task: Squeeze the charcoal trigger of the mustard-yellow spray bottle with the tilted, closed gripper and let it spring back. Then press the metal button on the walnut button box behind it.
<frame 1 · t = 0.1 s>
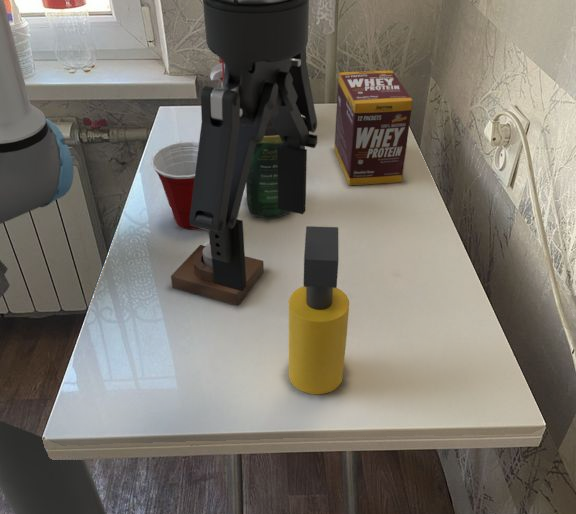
hand: (263, 244, 58), 24 cm above the table, tool pointing down, fingers open, 13 cm apart
coffee jar: (269, 206, 111), on the table
supplement box: (366, 166, 122), on the table
spray bottle: (315, 374, 80), on the table
citrus juicer: (255, 132, 133), on the table
muffin: (239, 171, 120), on the table
plastic cup: (192, 222, 107), on the table
button box: (218, 279, 94), on the table
button: (216, 255, 91), point 4 cm above the table, slide at 0.1 cm
trigger: (320, 268, 73), point 14 cm above the table, slide at -0.1 cm
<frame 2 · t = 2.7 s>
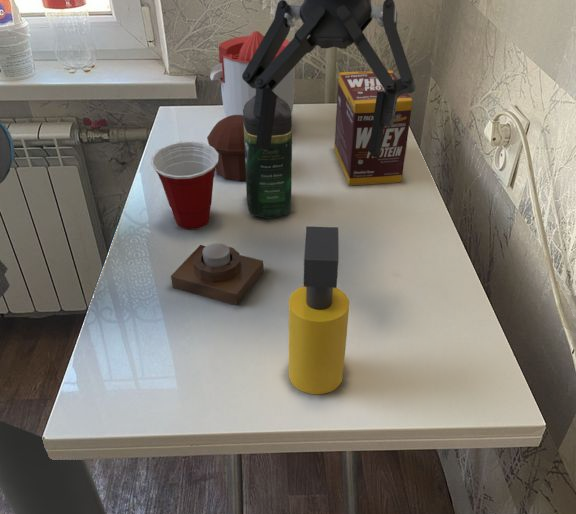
hand: (316, 151, 72), 24 cm above the table, tool tilted 40°, fingers open, 13 cm apart
nothing on the table moved.
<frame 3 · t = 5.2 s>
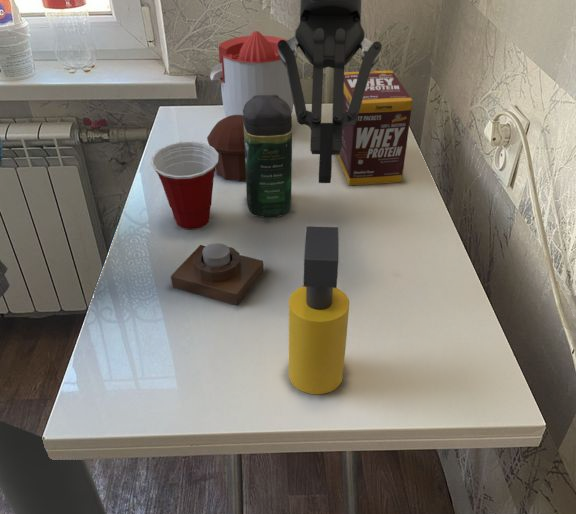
hand: (324, 179, 76), 20 cm above the table, tool tilted 45°, fingers closed
nothing on the table moved.
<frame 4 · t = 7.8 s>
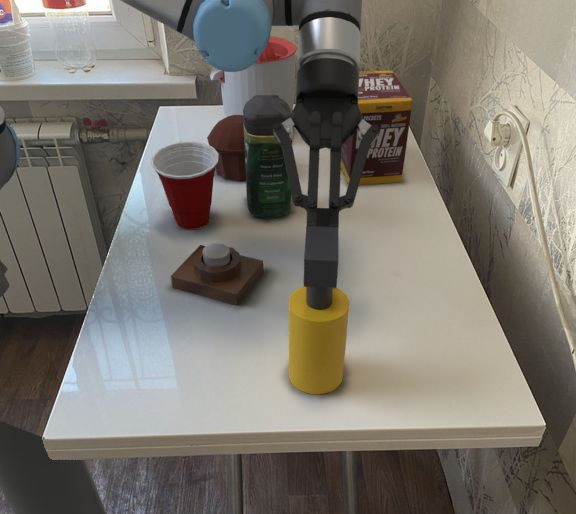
hand: (321, 264, 74), 14 cm above the table, tool tilted 45°, fingers closed
trigger: (320, 271, 72), point 14 cm above the table, slide at 0.5 cm, touching gripper
everything else where it was.
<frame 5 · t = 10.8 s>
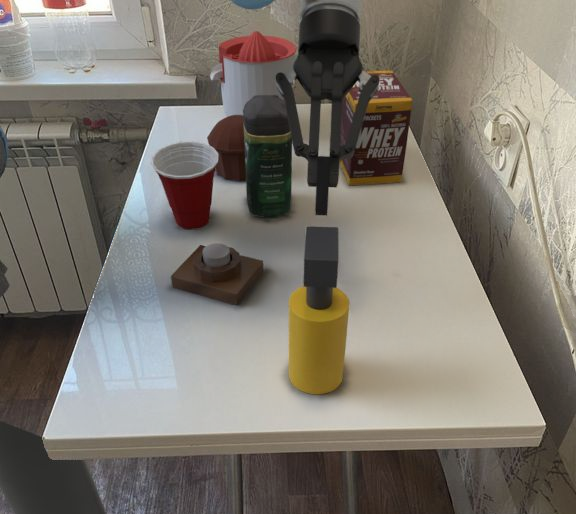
hand: (321, 212, 75), 17 cm above the table, tool tilted 45°, fingers closed
trigger: (320, 268, 73), point 14 cm above the table, slide at -0.1 cm
everything else where it was.
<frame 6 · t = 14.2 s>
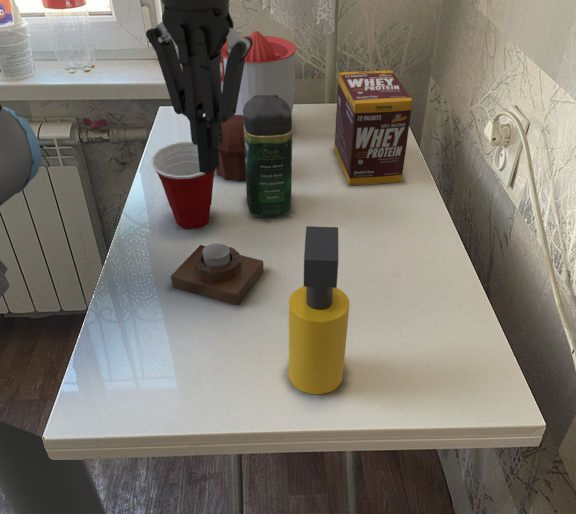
hand: (209, 168, 82), 18 cm above the table, tool pointing down, fingers closed
nothing on the table moved.
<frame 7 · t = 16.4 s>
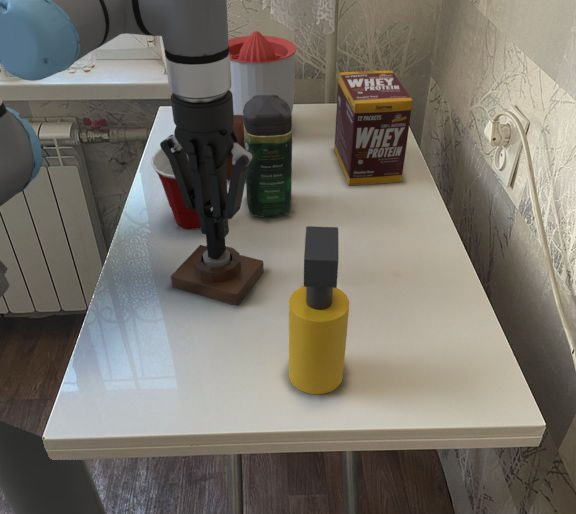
hand: (217, 253, 91), 5 cm above the table, tool pointing down, fingers closed
button: (216, 259, 92), point 4 cm above the table, slide at -0.7 cm, touching gripper
everything else where it was.
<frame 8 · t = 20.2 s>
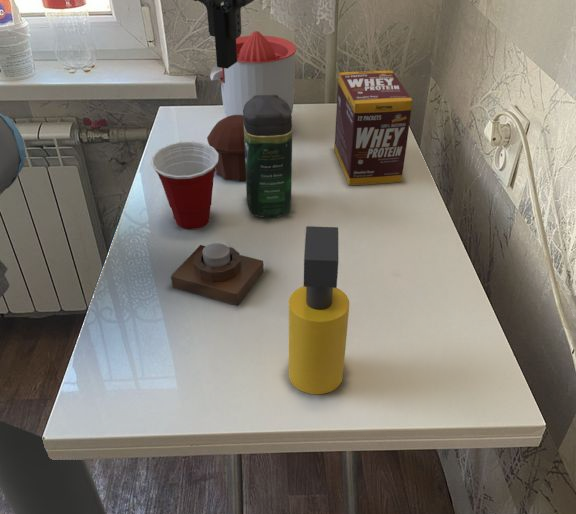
hand: (227, 64, 79), 29 cm above the table, tool pointing down, fingers closed
button: (216, 255, 91), point 4 cm above the table, slide at 0.1 cm
everything else where it was.
at the end: trigger pulled out 1.5 cm at the most during the clip, back to where it started at the end; trigger slide at -0.1 cm; button pushed in 1.0 cm at the most during the clip, back to where it started at the end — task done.
